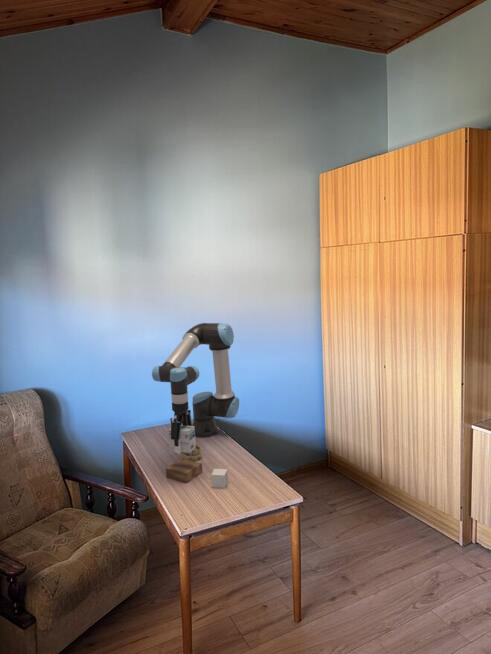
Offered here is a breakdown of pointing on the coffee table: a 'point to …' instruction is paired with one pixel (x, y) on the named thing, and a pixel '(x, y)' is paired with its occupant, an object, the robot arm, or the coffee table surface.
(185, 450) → the light bulb box
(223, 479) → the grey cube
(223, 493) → the coffee table surface
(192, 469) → the base block
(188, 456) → the ceramic model
